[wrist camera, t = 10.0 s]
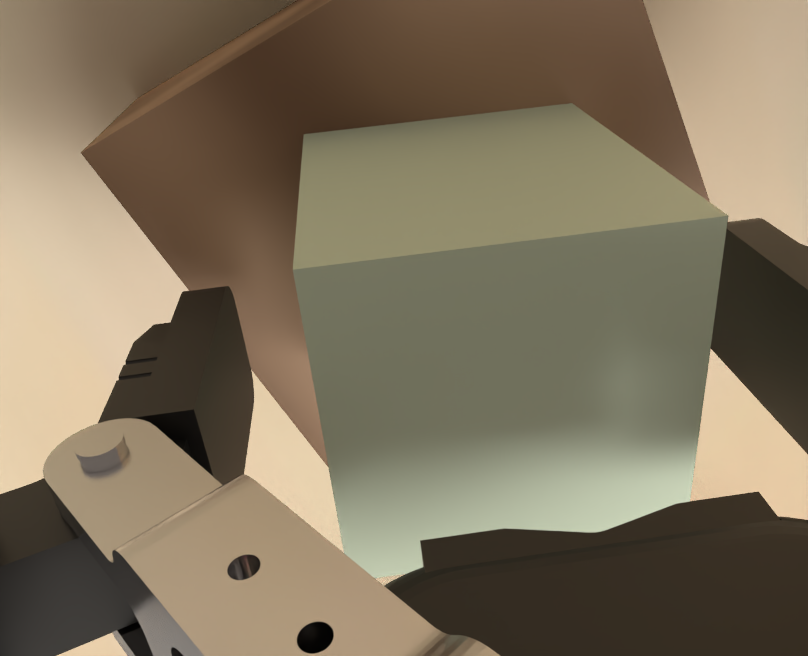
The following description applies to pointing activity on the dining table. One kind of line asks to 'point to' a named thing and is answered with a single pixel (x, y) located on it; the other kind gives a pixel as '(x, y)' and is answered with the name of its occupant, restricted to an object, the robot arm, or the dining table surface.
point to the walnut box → (355, 108)
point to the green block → (501, 326)
